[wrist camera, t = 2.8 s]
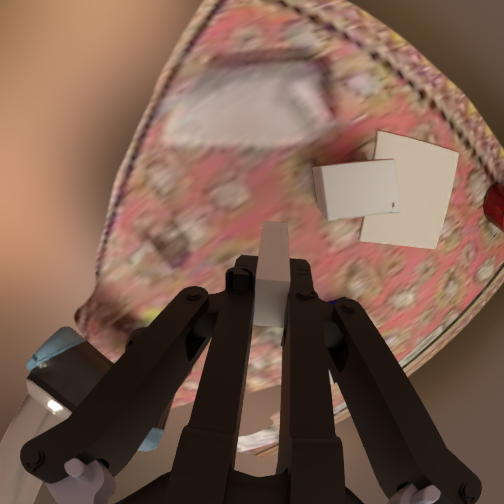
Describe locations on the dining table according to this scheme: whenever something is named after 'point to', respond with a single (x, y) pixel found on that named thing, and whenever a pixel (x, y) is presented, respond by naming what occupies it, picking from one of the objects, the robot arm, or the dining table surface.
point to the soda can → (495, 206)
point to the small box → (357, 188)
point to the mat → (413, 192)
